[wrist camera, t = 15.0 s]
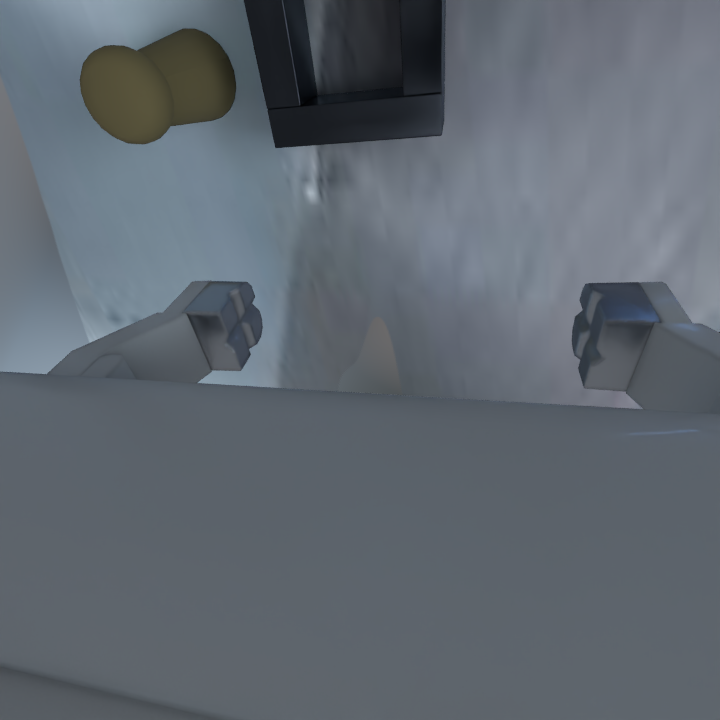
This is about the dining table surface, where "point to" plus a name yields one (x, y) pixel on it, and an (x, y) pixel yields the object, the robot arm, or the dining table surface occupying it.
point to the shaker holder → (351, 109)
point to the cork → (157, 85)
